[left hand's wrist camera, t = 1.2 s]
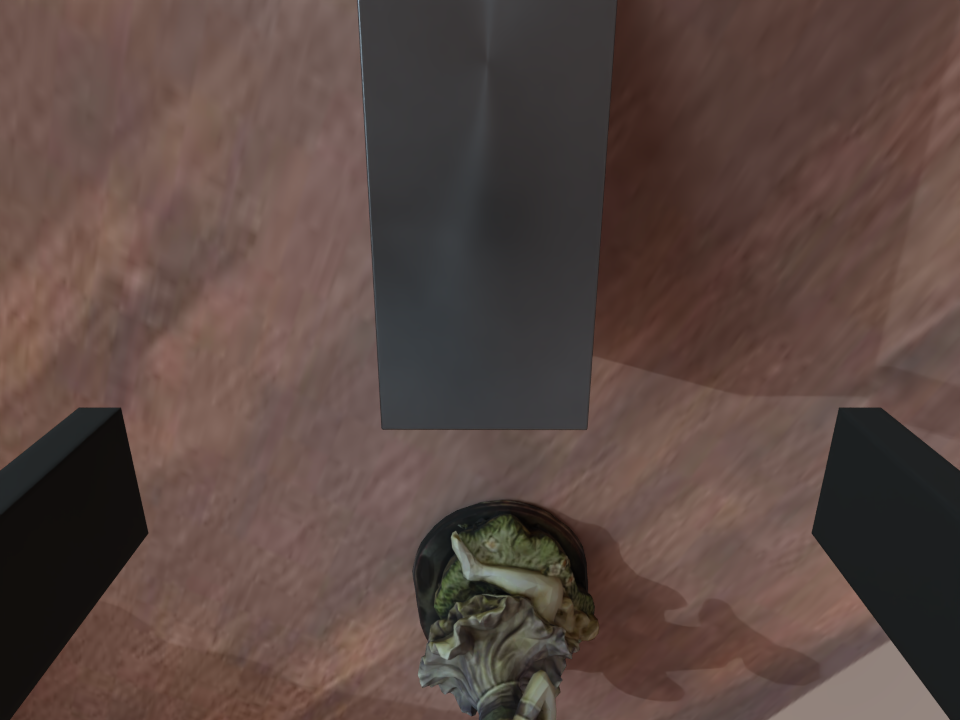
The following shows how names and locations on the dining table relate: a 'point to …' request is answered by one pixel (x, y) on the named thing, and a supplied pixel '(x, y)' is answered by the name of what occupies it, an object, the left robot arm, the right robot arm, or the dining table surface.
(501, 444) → the dining table surface
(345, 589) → the dining table surface
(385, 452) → the dining table surface
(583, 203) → the box
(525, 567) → the figurine
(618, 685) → the dining table surface
